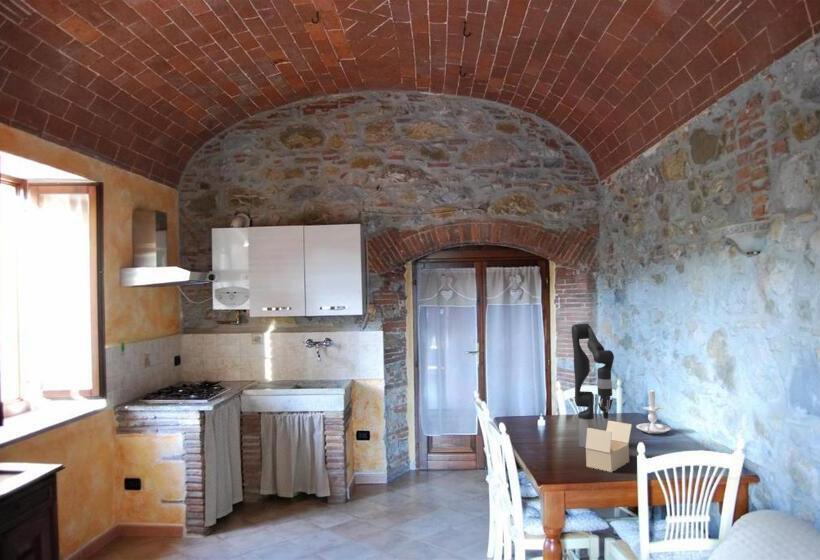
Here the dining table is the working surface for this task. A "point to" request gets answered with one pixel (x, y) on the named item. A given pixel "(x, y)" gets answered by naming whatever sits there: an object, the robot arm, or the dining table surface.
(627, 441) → the back flap
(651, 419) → the candlestick
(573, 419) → the dining table surface
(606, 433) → the front flap
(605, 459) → the carton
